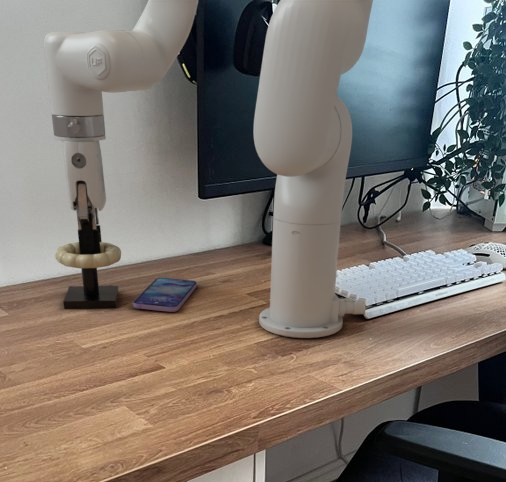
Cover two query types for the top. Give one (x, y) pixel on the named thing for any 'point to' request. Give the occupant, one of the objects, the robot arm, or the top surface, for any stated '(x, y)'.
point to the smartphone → (165, 294)
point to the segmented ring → (88, 256)
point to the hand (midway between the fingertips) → (91, 252)
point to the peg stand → (90, 293)
